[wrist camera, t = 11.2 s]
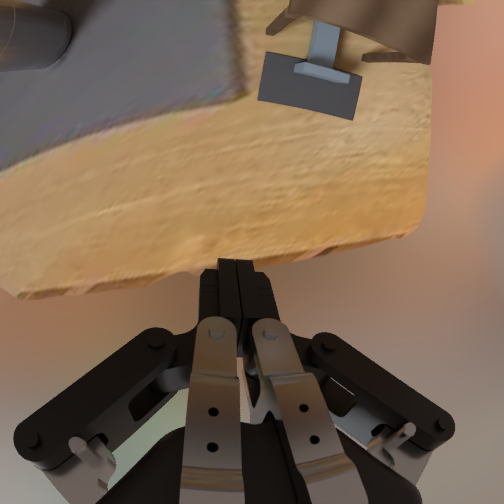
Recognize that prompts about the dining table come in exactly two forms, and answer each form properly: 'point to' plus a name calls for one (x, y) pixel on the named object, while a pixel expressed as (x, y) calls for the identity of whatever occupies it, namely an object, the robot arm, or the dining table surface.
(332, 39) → the sled frame
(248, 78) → the dining table surface
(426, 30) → the small brown wooden table
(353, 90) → the mat
